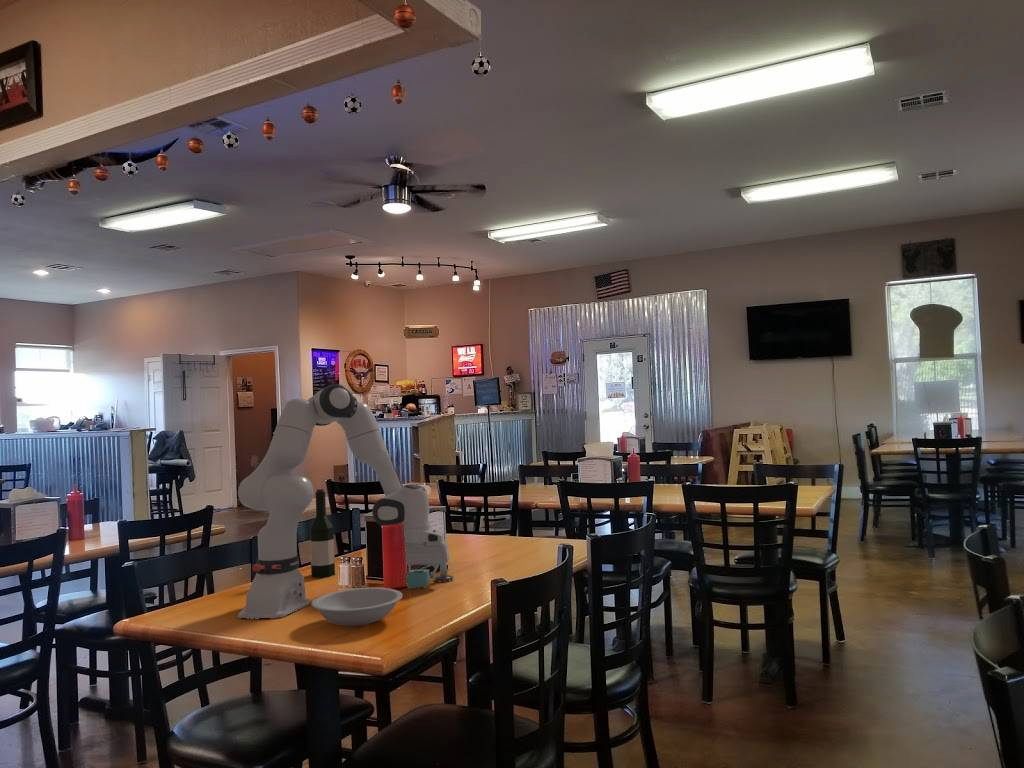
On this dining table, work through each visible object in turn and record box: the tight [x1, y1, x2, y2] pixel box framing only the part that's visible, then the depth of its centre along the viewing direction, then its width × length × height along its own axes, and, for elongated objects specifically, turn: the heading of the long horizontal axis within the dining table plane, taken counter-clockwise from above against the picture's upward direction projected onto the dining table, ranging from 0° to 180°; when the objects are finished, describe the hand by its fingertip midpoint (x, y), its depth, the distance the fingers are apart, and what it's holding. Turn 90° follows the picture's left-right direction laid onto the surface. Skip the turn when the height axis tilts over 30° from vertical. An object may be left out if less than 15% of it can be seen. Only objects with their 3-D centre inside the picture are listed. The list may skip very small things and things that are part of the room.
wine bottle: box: [309, 488, 336, 579], centre depth 264 cm, size 8×8×30 cm
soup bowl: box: [310, 587, 403, 627], centre depth 202 cm, size 24×24×7 cm
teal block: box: [406, 569, 431, 589], centre depth 241 cm, size 6×6×4 cm
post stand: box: [434, 562, 454, 583], centre depth 248 cm, size 6×6×6 cm
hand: (418, 578), depth 242 cm, fingers open, 8 cm apart
